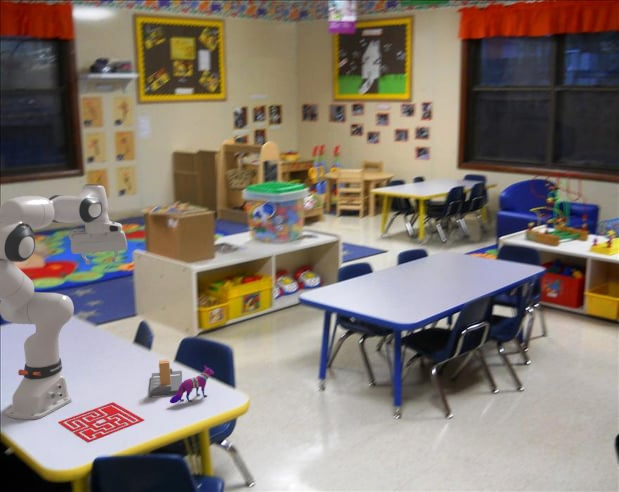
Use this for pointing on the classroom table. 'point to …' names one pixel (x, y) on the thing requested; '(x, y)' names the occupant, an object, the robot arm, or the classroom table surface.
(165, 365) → the fader cap
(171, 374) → the fader board
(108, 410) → the maze puzzle
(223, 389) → the classroom table surface
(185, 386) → the purple fox figurine
